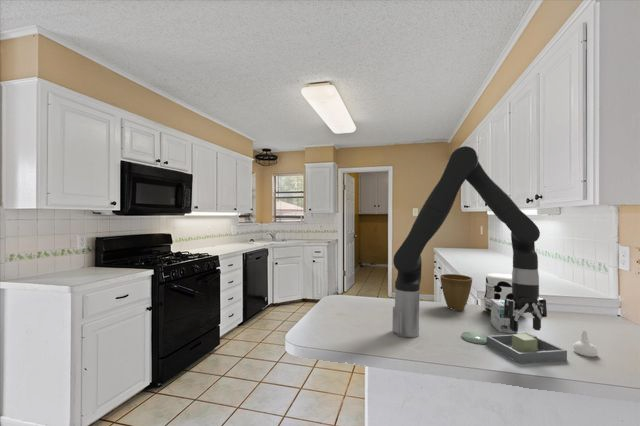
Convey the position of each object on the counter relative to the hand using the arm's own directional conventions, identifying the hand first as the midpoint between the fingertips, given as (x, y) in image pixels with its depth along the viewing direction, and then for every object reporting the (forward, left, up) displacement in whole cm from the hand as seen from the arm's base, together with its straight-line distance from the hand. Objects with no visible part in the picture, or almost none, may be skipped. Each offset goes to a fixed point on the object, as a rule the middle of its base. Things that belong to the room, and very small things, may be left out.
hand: (525, 330), depth 103 cm
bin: (+2, +2, -8) cm, 9 cm away
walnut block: (+7, +6, -8) cm, 12 cm away
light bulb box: (+12, +23, -8) cm, 27 cm away
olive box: (0, 0, -8) cm, 8 cm away
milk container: (+27, +40, -8) cm, 49 cm away
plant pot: (+9, +51, -8) cm, 53 cm away
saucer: (-7, +15, -8) cm, 18 cm away
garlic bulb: (+22, -2, -9) cm, 24 cm away
